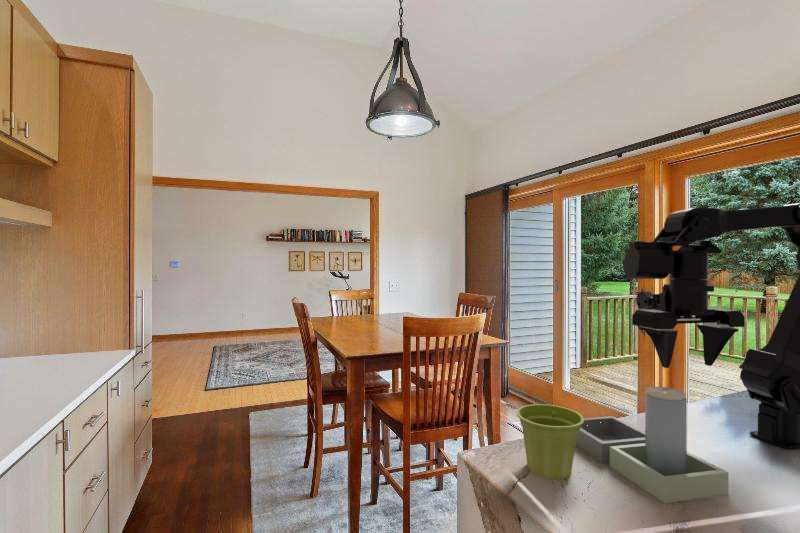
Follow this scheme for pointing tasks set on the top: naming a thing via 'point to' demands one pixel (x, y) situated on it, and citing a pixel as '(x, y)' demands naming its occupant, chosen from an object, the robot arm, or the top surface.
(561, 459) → the plant pot
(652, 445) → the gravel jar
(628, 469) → the sage bin
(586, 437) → the charcoal bin
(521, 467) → the top surface
